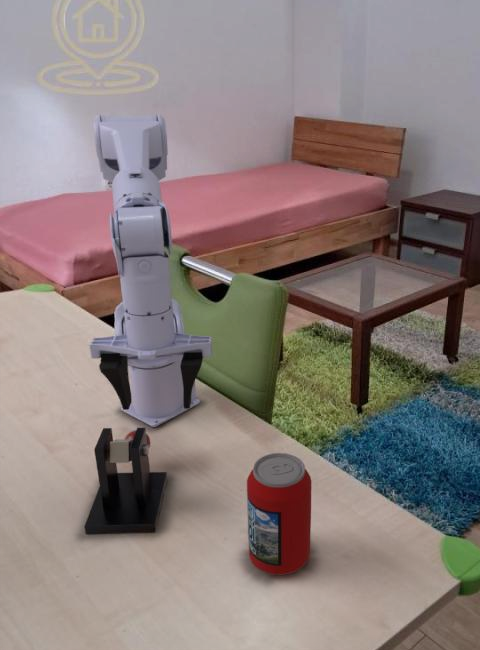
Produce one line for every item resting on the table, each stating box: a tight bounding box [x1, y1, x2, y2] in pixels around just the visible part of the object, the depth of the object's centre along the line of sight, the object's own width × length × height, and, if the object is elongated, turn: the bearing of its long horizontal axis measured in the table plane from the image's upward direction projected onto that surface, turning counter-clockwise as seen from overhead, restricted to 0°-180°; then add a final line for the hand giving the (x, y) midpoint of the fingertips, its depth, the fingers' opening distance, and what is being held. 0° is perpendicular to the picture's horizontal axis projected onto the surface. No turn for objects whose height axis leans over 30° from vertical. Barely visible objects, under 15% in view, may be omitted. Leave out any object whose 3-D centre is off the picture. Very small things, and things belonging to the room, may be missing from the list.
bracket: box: [84, 427, 168, 535], centre depth 76 cm, size 10×8×10 cm
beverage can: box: [246, 452, 312, 576], centre depth 67 cm, size 7×7×12 cm
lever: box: [110, 429, 151, 464], centre depth 79 cm, size 12×3×3 cm, turn 3°
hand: (157, 405), depth 81 cm, fingers open, 7 cm apart
